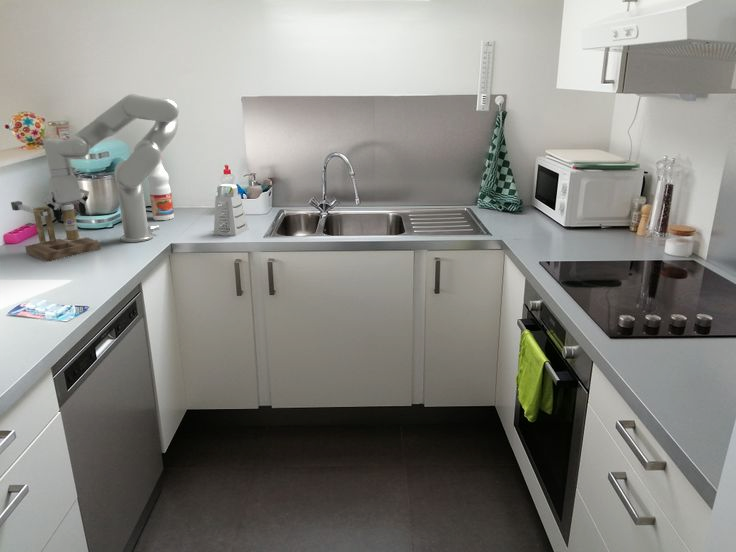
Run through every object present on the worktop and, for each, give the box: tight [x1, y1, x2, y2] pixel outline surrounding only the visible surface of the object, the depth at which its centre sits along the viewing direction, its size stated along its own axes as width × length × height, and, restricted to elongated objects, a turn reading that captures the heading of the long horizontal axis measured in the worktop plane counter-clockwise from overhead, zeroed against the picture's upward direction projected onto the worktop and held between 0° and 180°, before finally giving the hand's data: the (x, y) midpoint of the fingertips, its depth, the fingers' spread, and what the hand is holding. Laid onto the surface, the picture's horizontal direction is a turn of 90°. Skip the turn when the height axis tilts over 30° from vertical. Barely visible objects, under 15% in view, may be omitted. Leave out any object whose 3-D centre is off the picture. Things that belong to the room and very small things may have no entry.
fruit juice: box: [147, 157, 175, 221], centre depth 270 cm, size 9×9×28 cm
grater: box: [213, 183, 249, 237], centre depth 247 cm, size 10×10×20 cm
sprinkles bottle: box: [60, 202, 79, 239], centre depth 229 cm, size 5×5×14 cm
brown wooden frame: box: [24, 205, 101, 262], centre depth 223 cm, size 20×17×16 cm
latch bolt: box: [10, 200, 48, 217], centre depth 230 cm, size 3×26×3 cm, turn 52°
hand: (71, 216), depth 229 cm, fingers open, 9 cm apart
